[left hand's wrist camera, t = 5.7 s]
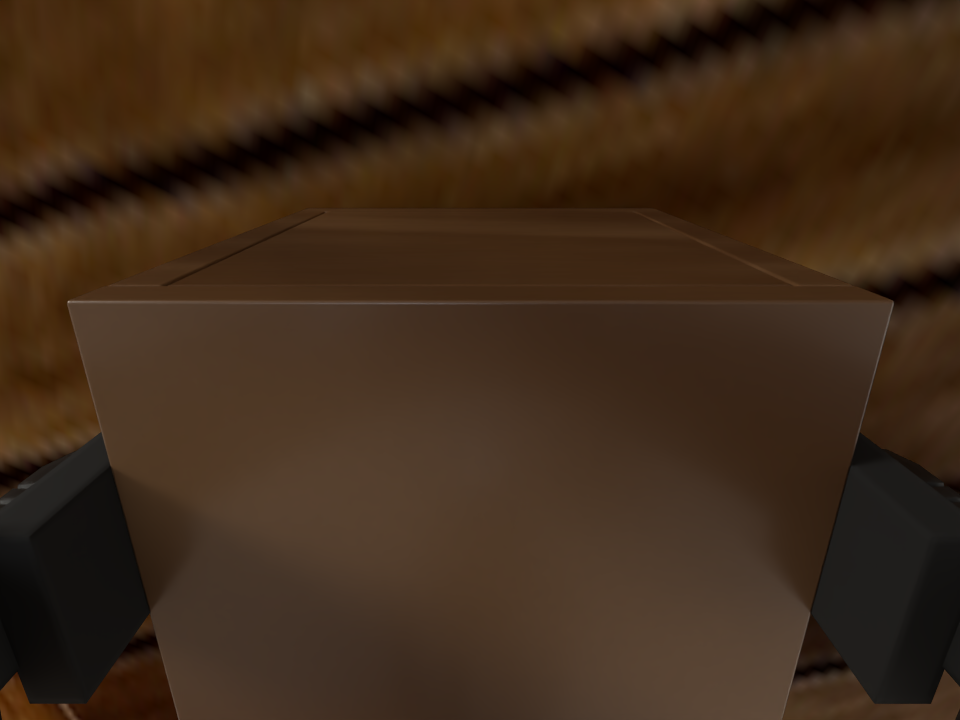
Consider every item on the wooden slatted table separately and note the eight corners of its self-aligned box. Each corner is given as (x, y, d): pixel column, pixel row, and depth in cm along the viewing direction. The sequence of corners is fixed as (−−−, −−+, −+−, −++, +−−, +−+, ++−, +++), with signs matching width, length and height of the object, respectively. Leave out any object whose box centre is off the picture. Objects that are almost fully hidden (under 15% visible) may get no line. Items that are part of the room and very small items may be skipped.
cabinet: (603, 685, 24) (689, 1066, 14) (356, 685, 24) (270, 1066, 14) (654, 208, 17) (897, 300, 7) (306, 208, 17) (64, 300, 7)
